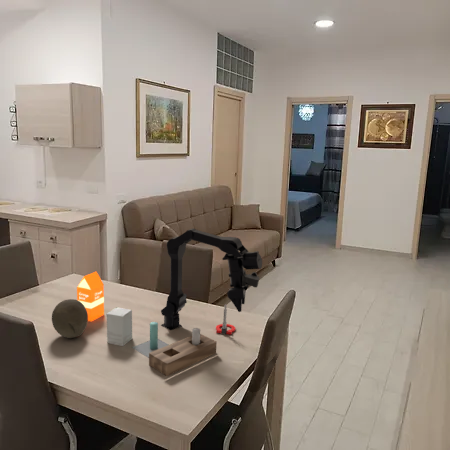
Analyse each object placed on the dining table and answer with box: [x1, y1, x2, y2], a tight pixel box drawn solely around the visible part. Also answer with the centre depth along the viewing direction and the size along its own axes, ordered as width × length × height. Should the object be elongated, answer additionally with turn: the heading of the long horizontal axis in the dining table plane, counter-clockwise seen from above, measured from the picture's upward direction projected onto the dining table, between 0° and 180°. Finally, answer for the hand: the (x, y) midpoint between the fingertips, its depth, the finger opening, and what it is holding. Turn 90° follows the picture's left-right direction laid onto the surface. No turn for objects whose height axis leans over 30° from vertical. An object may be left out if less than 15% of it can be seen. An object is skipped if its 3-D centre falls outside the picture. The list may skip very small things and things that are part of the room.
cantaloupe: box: [51, 299, 89, 339], centre depth 170 cm, size 14×14×15 cm
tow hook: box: [215, 304, 236, 335], centre depth 182 cm, size 8×13×9 cm
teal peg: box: [149, 321, 159, 350], centre depth 163 cm, size 3×3×10 cm
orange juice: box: [76, 271, 105, 322], centre depth 189 cm, size 8×9×20 cm
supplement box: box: [106, 306, 133, 347], centre depth 168 cm, size 7×7×13 cm
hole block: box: [148, 333, 217, 377], centre depth 156 cm, size 10×24×5 cm, turn 137°
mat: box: [131, 338, 170, 359], centre depth 164 cm, size 12×12×1 cm
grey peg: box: [191, 327, 201, 346], centre depth 160 cm, size 3×3×10 cm
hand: (241, 307), depth 170 cm, fingers open, 9 cm apart
